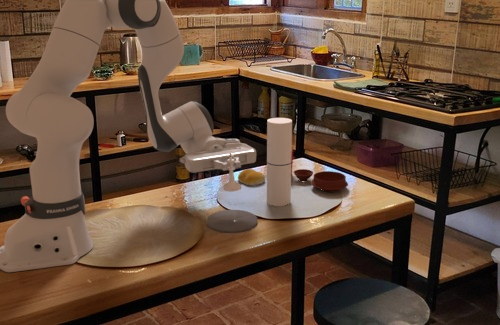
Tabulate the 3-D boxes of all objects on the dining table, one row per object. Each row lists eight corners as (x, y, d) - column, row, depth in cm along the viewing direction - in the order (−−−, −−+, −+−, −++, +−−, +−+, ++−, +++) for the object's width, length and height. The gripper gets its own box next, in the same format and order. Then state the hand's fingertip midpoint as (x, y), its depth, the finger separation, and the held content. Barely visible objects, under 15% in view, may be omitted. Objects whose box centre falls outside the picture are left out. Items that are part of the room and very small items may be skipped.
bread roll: (251, 188, 182) (251, 176, 181) (234, 181, 188) (234, 169, 187) (270, 182, 187) (270, 170, 186) (252, 175, 193) (252, 164, 192)
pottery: (331, 198, 173) (332, 185, 171) (284, 182, 187) (284, 170, 185) (355, 189, 180) (355, 176, 179) (307, 174, 194) (307, 162, 193)
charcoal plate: (219, 236, 146) (219, 234, 146) (198, 217, 158) (198, 215, 158) (266, 226, 153) (266, 223, 152) (243, 208, 164) (243, 206, 164)
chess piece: (226, 184, 156) (224, 149, 152) (243, 185, 154) (242, 150, 151) (220, 190, 151) (218, 155, 148) (237, 192, 150) (236, 156, 147)
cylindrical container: (264, 204, 168) (264, 122, 160) (270, 196, 174) (270, 117, 166) (287, 207, 166) (289, 124, 158) (292, 198, 172) (294, 118, 165)
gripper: (176, 147, 156) (195, 160, 144) (242, 138, 165) (265, 150, 153) (177, 169, 158) (196, 184, 146) (242, 158, 167) (265, 172, 155)
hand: (232, 166), depth 150 cm, fingers closed on chess piece, 2 cm apart
